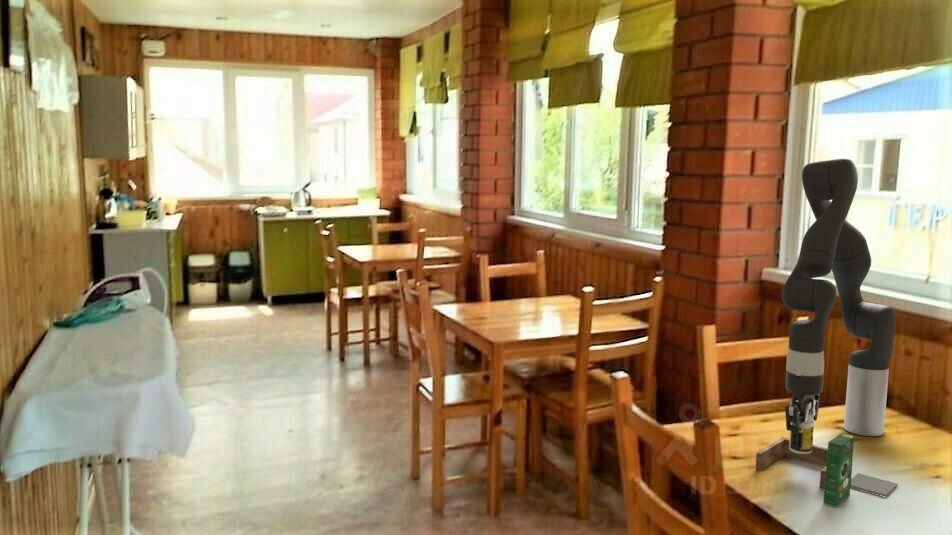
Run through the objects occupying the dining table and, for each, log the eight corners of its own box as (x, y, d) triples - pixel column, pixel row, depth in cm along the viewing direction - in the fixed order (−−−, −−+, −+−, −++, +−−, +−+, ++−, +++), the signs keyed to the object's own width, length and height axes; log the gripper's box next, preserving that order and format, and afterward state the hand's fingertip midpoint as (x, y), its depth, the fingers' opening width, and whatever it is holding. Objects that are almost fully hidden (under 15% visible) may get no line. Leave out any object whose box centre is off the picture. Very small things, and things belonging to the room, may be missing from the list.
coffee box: (836, 491, 162) (841, 431, 161) (850, 495, 160) (855, 435, 159) (822, 503, 157) (826, 441, 155) (837, 508, 155) (841, 445, 153)
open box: (781, 453, 184) (782, 437, 183) (847, 471, 173) (849, 454, 173) (755, 469, 174) (756, 452, 173) (824, 489, 163) (825, 471, 163)
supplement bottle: (814, 455, 168) (816, 418, 167) (791, 453, 169) (793, 416, 168) (809, 447, 172) (811, 410, 171) (787, 445, 173) (788, 409, 172)
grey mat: (858, 475, 171) (858, 473, 171) (897, 486, 165) (897, 483, 165) (845, 486, 165) (845, 483, 165) (885, 497, 160) (886, 494, 160)
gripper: (800, 359, 176) (796, 432, 178) (774, 373, 165) (770, 449, 168) (834, 365, 170) (830, 440, 173) (810, 380, 160) (805, 458, 163)
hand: (800, 444), depth 170 cm, fingers closed on supplement bottle, 4 cm apart
